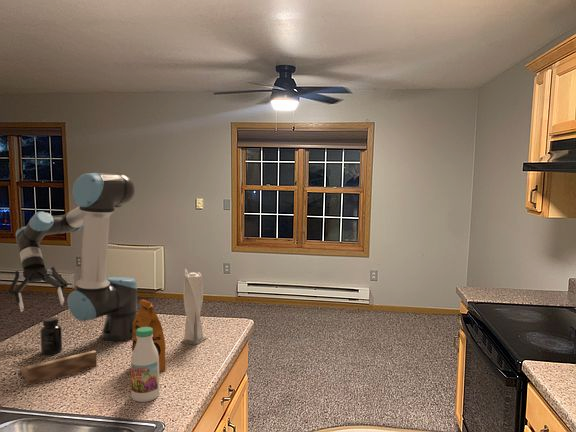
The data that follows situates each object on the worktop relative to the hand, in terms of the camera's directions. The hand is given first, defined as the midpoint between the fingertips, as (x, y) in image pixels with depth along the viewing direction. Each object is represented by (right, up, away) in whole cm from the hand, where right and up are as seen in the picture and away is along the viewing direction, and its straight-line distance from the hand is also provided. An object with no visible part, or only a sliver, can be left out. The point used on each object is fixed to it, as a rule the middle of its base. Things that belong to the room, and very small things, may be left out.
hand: (43, 306), depth 166 cm
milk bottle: (+51, -18, -38) cm, 66 cm away
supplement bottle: (+7, -15, -6) cm, 18 cm away
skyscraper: (+55, -15, +6) cm, 57 cm away
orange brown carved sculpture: (+46, -17, -19) cm, 52 cm away
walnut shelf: (+17, -16, -21) cm, 31 cm away
